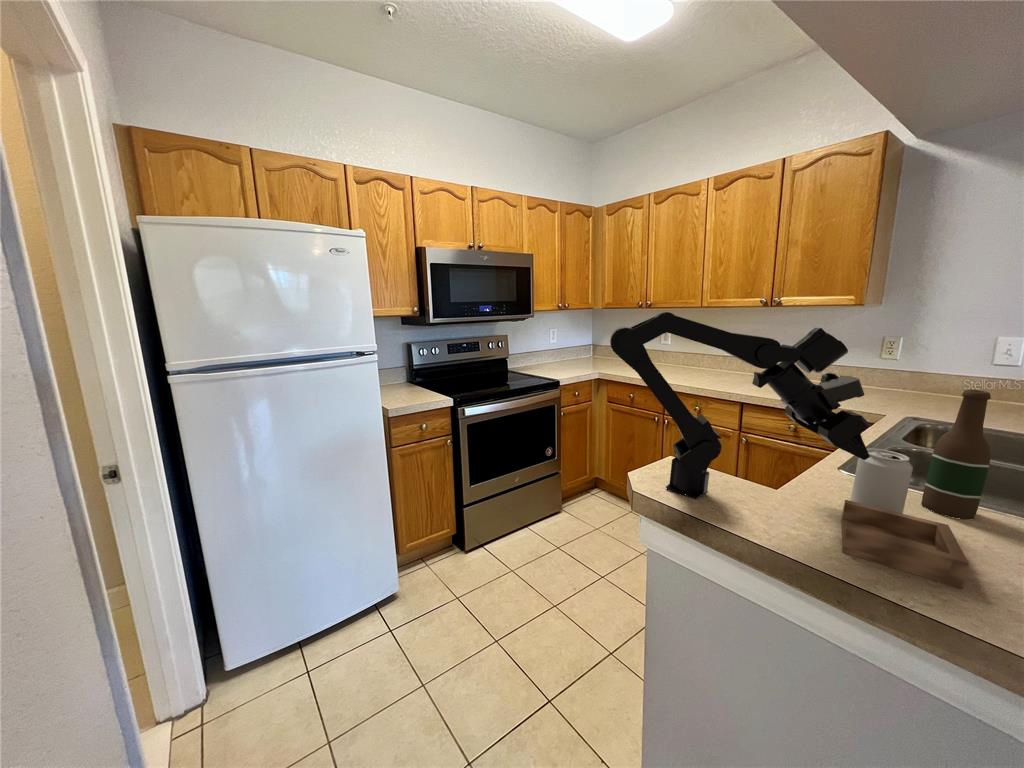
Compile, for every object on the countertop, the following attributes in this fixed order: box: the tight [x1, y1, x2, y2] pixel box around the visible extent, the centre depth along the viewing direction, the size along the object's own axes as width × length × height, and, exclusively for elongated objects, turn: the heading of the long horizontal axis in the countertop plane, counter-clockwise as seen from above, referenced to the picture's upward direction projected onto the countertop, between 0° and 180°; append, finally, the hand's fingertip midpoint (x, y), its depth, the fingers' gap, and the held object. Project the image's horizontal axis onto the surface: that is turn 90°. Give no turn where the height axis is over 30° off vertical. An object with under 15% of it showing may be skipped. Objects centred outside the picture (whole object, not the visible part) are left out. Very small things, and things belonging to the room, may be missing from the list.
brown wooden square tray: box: [840, 499, 970, 589], centre depth 64 cm, size 13×13×4 cm
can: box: [849, 448, 914, 514], centre depth 75 cm, size 8×8×12 cm
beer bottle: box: [921, 389, 992, 520], centre depth 76 cm, size 8×8×24 cm
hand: (852, 449), depth 76 cm, fingers open, 9 cm apart
